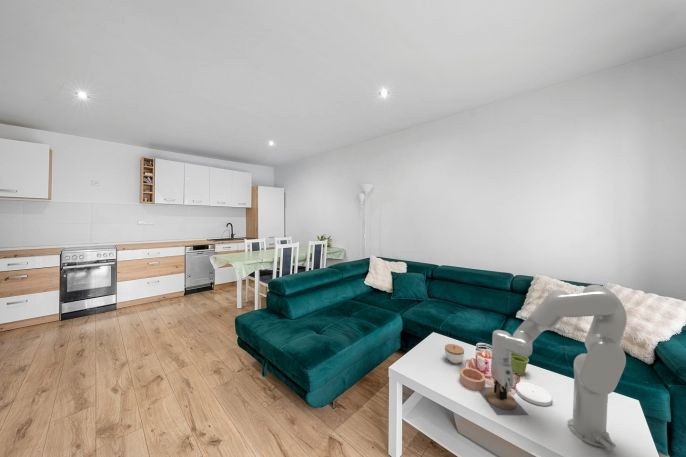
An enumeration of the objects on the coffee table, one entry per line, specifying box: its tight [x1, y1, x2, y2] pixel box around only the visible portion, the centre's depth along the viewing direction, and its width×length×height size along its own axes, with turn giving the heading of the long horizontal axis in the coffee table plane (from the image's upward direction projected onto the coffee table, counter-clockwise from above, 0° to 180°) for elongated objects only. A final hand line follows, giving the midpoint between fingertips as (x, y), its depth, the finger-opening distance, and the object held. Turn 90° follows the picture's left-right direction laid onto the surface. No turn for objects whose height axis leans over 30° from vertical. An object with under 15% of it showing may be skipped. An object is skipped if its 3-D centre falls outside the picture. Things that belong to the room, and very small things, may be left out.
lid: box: [485, 383, 517, 410], centre depth 117 cm, size 12×12×7 cm
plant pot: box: [511, 352, 530, 376], centre depth 139 cm, size 9×9×9 cm
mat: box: [478, 386, 530, 416], centre depth 117 cm, size 18×14×1 cm
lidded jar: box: [444, 343, 465, 365], centre depth 150 cm, size 11×11×9 cm
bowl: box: [459, 367, 486, 392], centre depth 129 cm, size 11×11×5 cm
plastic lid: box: [515, 381, 553, 407], centre depth 120 cm, size 14×14×2 cm
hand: (500, 395), depth 117 cm, fingers closed on lid, 3 cm apart
